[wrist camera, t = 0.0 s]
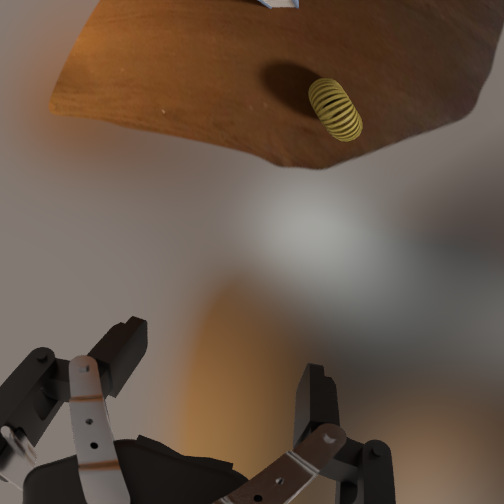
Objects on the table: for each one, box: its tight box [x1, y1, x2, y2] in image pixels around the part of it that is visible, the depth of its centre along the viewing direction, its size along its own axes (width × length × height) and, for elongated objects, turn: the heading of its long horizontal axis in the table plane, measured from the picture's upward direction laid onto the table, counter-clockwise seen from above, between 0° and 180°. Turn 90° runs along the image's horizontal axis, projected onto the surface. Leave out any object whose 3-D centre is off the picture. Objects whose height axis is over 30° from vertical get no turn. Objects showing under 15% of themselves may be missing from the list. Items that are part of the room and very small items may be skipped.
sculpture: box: [308, 78, 363, 141], centre depth 29 cm, size 8×4×8 cm, turn 38°
